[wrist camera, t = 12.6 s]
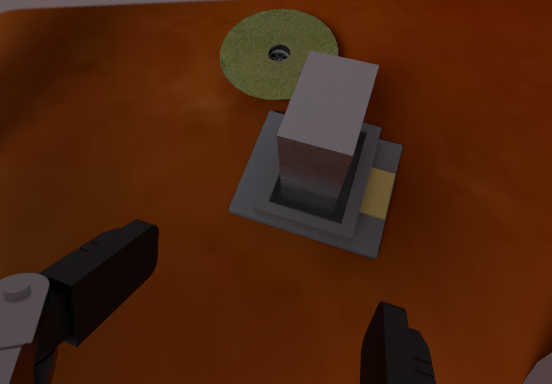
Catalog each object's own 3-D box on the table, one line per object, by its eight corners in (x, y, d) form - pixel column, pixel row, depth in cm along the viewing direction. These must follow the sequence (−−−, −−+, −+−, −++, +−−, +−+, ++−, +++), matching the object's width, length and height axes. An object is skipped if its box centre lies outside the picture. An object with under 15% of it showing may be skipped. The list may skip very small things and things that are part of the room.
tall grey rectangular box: (282, 202, 26) (276, 135, 17) (304, 140, 28) (310, 50, 19) (330, 217, 25) (352, 156, 16) (349, 152, 27) (379, 65, 18)
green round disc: (217, 112, 30) (213, 99, 29) (228, 25, 35) (225, 9, 33) (337, 112, 30) (340, 99, 28) (334, 23, 34) (336, 7, 32)
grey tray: (230, 212, 27) (223, 200, 24) (270, 115, 30) (268, 96, 27) (374, 259, 25) (383, 251, 22) (399, 149, 28) (410, 132, 25)
